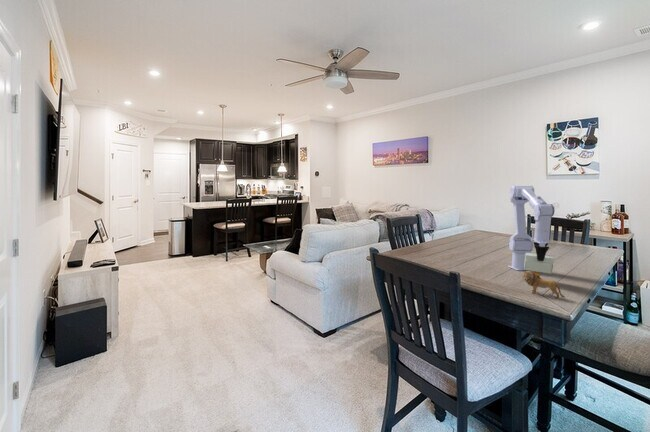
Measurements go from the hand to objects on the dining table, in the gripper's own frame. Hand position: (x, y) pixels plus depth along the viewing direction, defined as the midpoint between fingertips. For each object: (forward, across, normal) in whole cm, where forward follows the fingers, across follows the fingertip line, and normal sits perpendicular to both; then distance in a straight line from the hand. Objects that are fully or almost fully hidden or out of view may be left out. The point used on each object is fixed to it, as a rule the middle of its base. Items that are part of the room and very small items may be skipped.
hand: (539, 259), depth 145 cm
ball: (+8, 0, -2) cm, 8 cm away
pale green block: (+5, 0, -1) cm, 5 cm away
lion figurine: (+11, +20, 0) cm, 23 cm away
